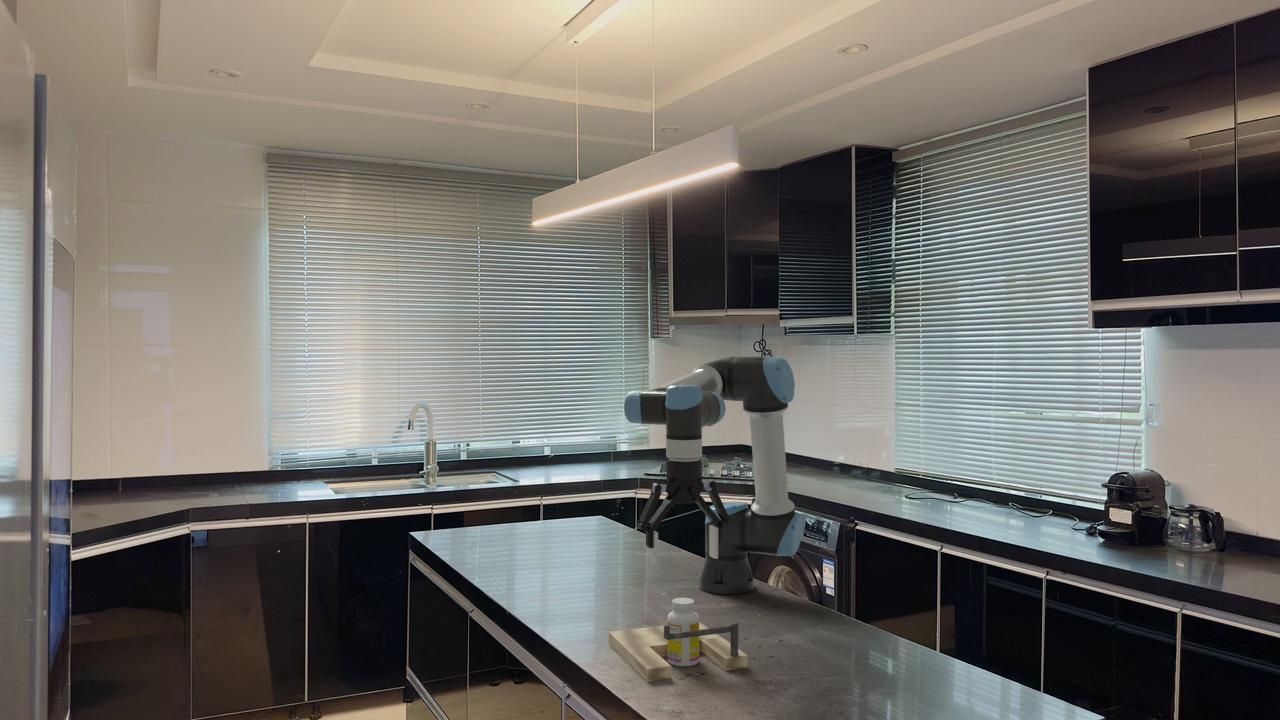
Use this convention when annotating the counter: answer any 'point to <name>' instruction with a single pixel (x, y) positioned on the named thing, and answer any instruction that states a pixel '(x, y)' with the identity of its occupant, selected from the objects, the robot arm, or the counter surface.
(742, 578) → the robot arm
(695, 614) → the supplement bottle
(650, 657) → the wooden u-shaped stand
